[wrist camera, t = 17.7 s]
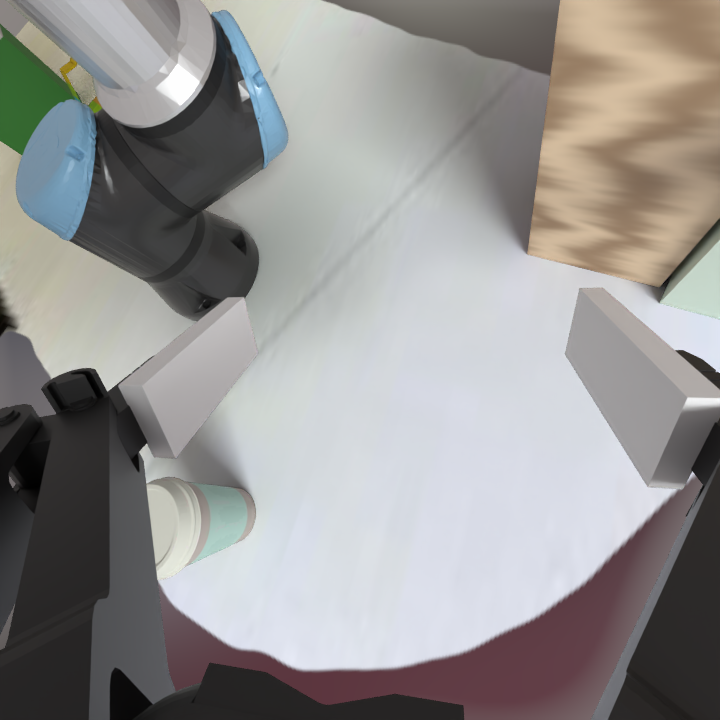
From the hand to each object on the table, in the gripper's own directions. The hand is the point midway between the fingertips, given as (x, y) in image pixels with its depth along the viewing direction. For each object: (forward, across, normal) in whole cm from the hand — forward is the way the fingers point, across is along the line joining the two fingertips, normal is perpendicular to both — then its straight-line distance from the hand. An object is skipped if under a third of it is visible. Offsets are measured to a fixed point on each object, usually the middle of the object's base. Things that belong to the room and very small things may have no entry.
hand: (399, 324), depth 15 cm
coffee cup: (+11, -21, -29) cm, 37 cm away
